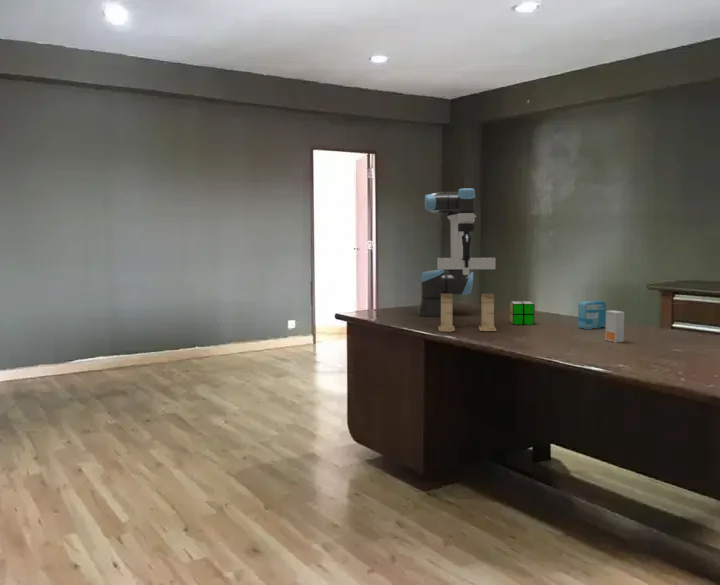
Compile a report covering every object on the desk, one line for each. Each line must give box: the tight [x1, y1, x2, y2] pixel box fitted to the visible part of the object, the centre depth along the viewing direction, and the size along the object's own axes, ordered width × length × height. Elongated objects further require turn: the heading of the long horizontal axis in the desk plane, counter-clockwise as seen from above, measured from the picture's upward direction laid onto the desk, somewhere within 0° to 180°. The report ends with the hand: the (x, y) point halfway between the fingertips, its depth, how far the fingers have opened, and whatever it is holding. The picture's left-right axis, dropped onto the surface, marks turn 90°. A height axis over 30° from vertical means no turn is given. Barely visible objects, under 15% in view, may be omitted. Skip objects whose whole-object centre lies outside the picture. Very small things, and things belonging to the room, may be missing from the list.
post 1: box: [437, 294, 456, 332], centre depth 299 cm, size 8×7×16 cm
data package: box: [577, 300, 607, 330], centre depth 302 cm, size 12×4×12 cm, turn 114°
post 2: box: [478, 293, 497, 332], centre depth 298 cm, size 8×7×16 cm
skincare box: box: [604, 309, 625, 343], centre depth 268 cm, size 6×4×12 cm
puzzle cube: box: [509, 300, 536, 326], centre depth 318 cm, size 10×10×10 cm
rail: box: [436, 257, 496, 270], centre depth 306 cm, size 4×26×5 cm, turn 84°
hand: (466, 274), depth 307 cm, fingers closed on rail, 4 cm apart
